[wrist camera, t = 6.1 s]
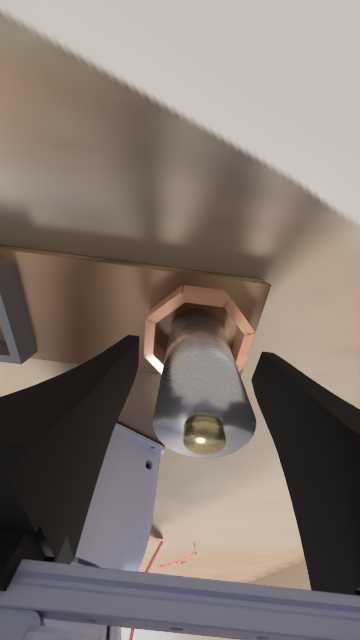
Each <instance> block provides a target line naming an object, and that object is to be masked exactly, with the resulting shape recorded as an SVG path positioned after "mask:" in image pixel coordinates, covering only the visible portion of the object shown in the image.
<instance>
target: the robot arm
mask: <svg viewBox="0 0 360 640" xmlns="http://www.w3.org/2000/svg"><path fill="white" fill-rule="evenodd" d="M138 366H139V336H135V335H127V336H126V337H124V338H123V339H121V340H120V341H118V342H117V343H115V344H114V345H112V346H111V347H109V348H108V349H106V350H105V351H103V352H102V353H100V354H98V355H97V356H95V357H93V358H92V359H90V360H88V361H87V362H85V363H83V364H81V365H79V366H77V367H75V368H73V369H71V370H69V371H67V372H65V373H63V374H61V375H58V376H56V377H54V378H51V379H49V380H46V381H44V382H41V383H39V384H36V385H34V386H31V387H28V388H26V389H23V390H20V391H17V392H14V393H11V394H8V395H5V396H2V397H0V640H121V627H126V628H136V629H145V630H155V631H165V632H174V633H183V634H193V635H202V636H212V637H222V638H231V639H241V640H360V409H358V408H356V407H354V406H353V405H351V404H349V403H348V402H346V401H344V400H342V399H341V398H339V397H338V396H336V395H334V394H333V393H331V392H330V391H328V390H327V389H325V388H324V387H322V386H321V385H319V384H318V383H316V382H315V381H313V380H312V379H310V378H309V377H308V376H306V375H305V374H303V373H302V372H300V371H299V370H298V369H296V368H295V367H293V366H292V365H291V364H289V363H288V362H286V361H285V360H284V359H282V358H281V357H279V356H277V355H276V354H274V353H269V352H262V353H261V356H260V359H259V361H258V364H257V367H256V369H255V372H254V375H253V377H252V384H253V389H254V392H255V396H256V399H257V402H258V404H259V407H260V409H261V412H262V414H263V416H264V419H265V421H266V424H267V426H268V429H269V431H270V433H271V436H272V438H273V441H274V444H275V446H276V449H277V452H278V455H279V459H280V462H281V465H282V468H283V472H284V475H285V479H286V482H287V486H288V490H289V493H290V497H291V501H292V505H293V509H294V513H295V517H296V521H297V525H298V529H299V533H300V537H301V542H302V547H303V551H304V556H305V560H306V565H307V569H308V574H309V579H310V585H311V589H312V591H311V590H301V589H292V588H283V587H274V586H265V585H256V584H247V583H237V582H228V581H219V580H210V579H201V578H191V577H182V576H173V575H164V574H155V573H146V572H137V571H138V569H139V567H140V565H141V562H142V560H143V557H144V554H145V551H146V547H147V544H148V540H149V536H150V531H151V525H152V518H153V510H154V502H155V494H156V486H157V479H158V471H159V463H160V455H161V454H163V453H164V450H165V448H164V446H162V445H160V444H158V443H156V442H154V441H152V440H150V439H148V438H146V437H144V436H142V435H140V434H138V433H136V432H134V431H132V430H130V429H128V428H126V427H124V426H122V425H120V424H118V423H116V422H117V420H118V418H119V415H120V413H121V411H122V408H123V406H124V404H125V401H126V399H127V397H128V395H129V392H130V390H131V388H132V385H133V383H134V380H135V377H136V373H137V370H138Z"/></svg>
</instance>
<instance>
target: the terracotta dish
mask: <svg viewBox="0 0 360 640" xmlns="http://www.w3.org/2000/svg"><path fill="white" fill-rule="evenodd" d="M185 302H186V303H194V304H202V305H209V306H217V307H224V308H225V309H226V311H227V312H228V313H229V315H230V316H231V317H232V319H233V320H234V322H235V323H236V324H237V326H238V327H237V331H236V334H235V338H234V341H233V345H232V348H231V352H232V355H233V358H234V360H235V363H236V366H237V369H238V371H240V370H242V368H244V365H245V362H246V359H247V356H248V354H249V351H250V348H251V345H252V342H253V339H254V336H255V333H254V332H255V331H254V330H253V329H252V327H251V326H250V324H249V323H248V321H247V320H246V318H245V317H244V315H243V314H242V313H241V311H240V310H239V308H238V307H237V305H236V304H235V303H234V301H233V300H232V298H231V297H230V295H229V294H228V293H227V291H225V290H219V289H211V288H204V287H196V286H188V285H184V287H183V286H180V287H179V288H178V289H176V290H175V291H174V292H172V293H171V294H170V295H169V296H167V297H166V298H165V299H163V300H162V301H161V302H159V303H158V304H157V305H155V306H154V307H153V308H151V310H150V312H149V314H148V316H147V317H146V319H145V338H144V356H145V358H146V359H147V360H148V361H149V362H150V363H151V364H152V365H153V366H154V367H155V368H156V369H157V370H158V371H159V372H160V373H161V374H162V371H163V365H164V360H165V355H166V352H165V351H164V350H163V349H162V347H161V346H160V345H159V344H158V343H157V331H158V321H160V320H161V319H163V318H164V317H165V316H167V315H168V314H169V313H171V312H172V311H174V310H175V309H176V308H178V307H179V306H181V305H182V304H183V303H185Z"/></svg>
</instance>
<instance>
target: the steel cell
mask: <svg viewBox="0 0 360 640" xmlns="http://www.w3.org/2000/svg"><path fill="white" fill-rule="evenodd" d="M153 429H154V432H155V434H156V436H157V438H158V439H159V440H160V441H161V442H162V443H163V444H164V445H165V446H166V447H168V448H169V449H171V450H173V451H175V452H177V453H179V454H182V455H186V456H190V457H197V458H213V457H219V456H224V455H227V454H230V453H232V452H235V451H237V450H238V449H240V448H242V447H243V446H244V445H245V444H247V443H248V442H249V440H250V439H251V438H252V436H253V434H254V432H255V429H256V419H255V415H254V412H253V410H252V407H251V404H250V401H249V399H248V396H247V393H246V390H245V388H244V385H243V382H242V380H241V377H240V374H239V371H238V369H237V366H236V363H235V360H234V358H233V355H232V352H231V349H230V347H229V344H228V341H227V338H226V336H225V333H224V330H223V327H222V325H221V322H220V320H219V319H218V317H217V316H216V315H215V314H213V313H212V312H210V311H208V310H205V309H201V308H192V309H188V310H185V311H183V312H182V313H180V314H179V315H178V316H177V317H176V318H175V319H174V321H173V322H172V325H171V329H170V334H169V340H168V345H167V350H166V355H165V360H164V365H163V371H162V376H161V381H160V386H159V391H158V397H157V402H156V407H155V412H154V417H153Z"/></svg>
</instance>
